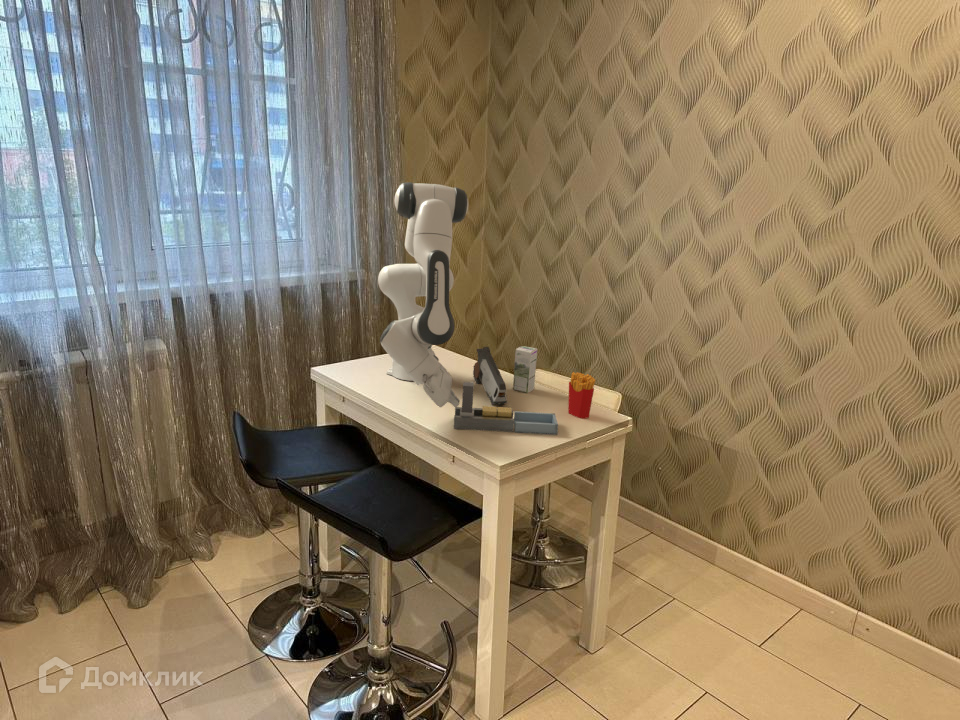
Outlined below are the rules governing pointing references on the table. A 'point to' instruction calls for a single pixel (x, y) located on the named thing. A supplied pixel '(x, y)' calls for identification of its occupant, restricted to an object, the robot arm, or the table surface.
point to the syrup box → (524, 369)
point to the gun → (489, 377)
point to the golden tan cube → (489, 411)
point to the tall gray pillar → (467, 399)
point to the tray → (535, 423)
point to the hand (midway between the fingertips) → (457, 404)
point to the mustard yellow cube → (504, 412)
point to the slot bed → (482, 422)
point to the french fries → (580, 395)
